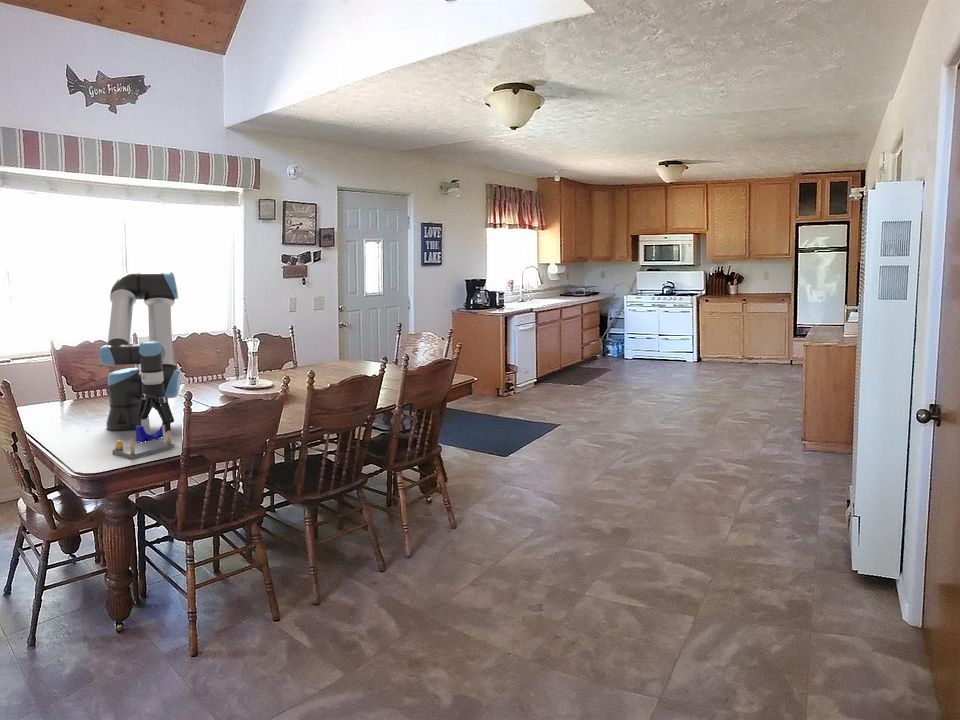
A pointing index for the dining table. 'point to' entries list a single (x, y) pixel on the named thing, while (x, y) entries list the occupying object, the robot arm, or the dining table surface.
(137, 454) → the junction plate
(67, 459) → the dining table surface
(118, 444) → the wire nut
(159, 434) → the blue u-shaped block
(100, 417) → the dining table surface
